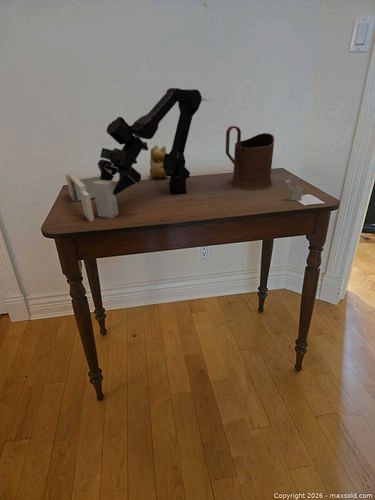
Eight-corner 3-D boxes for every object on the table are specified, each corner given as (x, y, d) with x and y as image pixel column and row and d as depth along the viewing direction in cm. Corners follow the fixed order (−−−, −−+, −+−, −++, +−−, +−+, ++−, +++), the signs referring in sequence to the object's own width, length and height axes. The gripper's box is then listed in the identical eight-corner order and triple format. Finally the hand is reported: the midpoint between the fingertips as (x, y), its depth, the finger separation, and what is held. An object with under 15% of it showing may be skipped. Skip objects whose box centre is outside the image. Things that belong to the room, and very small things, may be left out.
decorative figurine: (171, 176, 150) (170, 144, 143) (163, 181, 143) (161, 148, 136) (154, 175, 153) (152, 143, 146) (145, 179, 147) (142, 146, 140)
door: (75, 201, 121) (71, 180, 117) (74, 199, 123) (69, 178, 119) (114, 194, 128) (111, 173, 124) (112, 192, 130) (109, 172, 126)
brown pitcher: (282, 185, 134) (289, 123, 122) (240, 196, 122) (244, 129, 110) (251, 176, 148) (255, 119, 136) (211, 185, 136) (212, 124, 124)
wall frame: (69, 195, 129) (64, 170, 124) (74, 195, 129) (68, 169, 124) (89, 221, 104) (83, 190, 99) (94, 220, 105) (89, 189, 100)
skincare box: (119, 214, 109) (114, 180, 104) (111, 218, 106) (106, 184, 100) (105, 211, 112) (99, 179, 106) (97, 216, 108) (91, 182, 102)
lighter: (299, 198, 119) (302, 177, 115) (301, 199, 117) (304, 179, 113) (281, 200, 118) (284, 179, 114) (284, 201, 116) (286, 180, 112)
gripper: (98, 135, 106) (74, 173, 105) (130, 140, 95) (103, 184, 93) (120, 155, 115) (98, 190, 113) (152, 162, 103) (128, 202, 102)
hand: (106, 191), depth 105 cm, fingers open, 9 cm apart
